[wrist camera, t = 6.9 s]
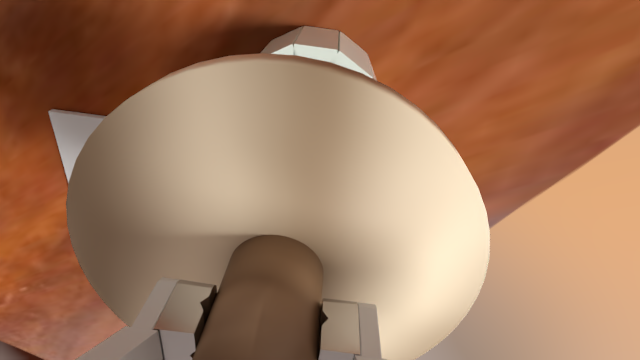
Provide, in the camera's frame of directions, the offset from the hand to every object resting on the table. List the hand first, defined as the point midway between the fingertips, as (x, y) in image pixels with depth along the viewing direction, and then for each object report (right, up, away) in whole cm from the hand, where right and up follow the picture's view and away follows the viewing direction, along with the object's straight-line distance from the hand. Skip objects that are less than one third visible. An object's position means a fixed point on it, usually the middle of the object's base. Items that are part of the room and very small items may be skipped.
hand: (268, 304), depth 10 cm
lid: (0, +1, +2) cm, 2 cm away
